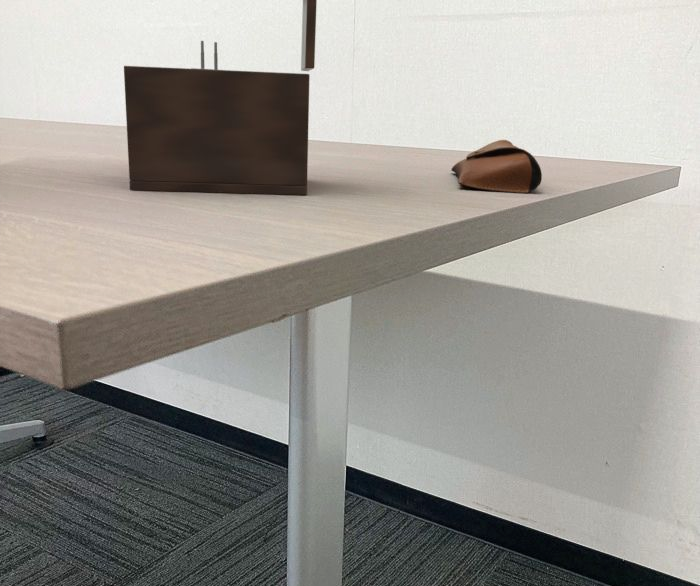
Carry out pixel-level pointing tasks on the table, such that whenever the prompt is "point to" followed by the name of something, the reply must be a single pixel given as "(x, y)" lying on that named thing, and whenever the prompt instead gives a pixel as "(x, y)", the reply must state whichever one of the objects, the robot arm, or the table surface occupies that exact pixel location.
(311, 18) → the lid
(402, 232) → the table surface
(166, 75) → the chest
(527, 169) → the sunglasses case
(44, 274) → the table surface
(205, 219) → the table surface
